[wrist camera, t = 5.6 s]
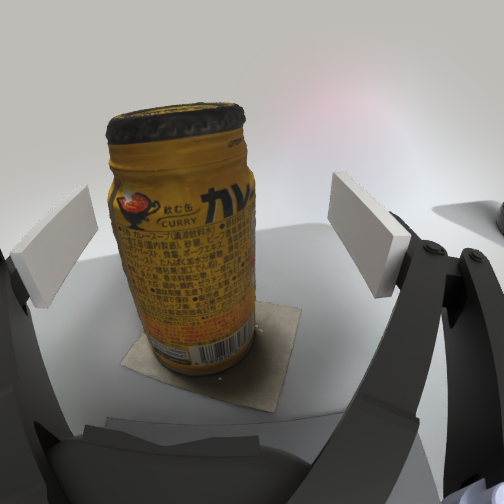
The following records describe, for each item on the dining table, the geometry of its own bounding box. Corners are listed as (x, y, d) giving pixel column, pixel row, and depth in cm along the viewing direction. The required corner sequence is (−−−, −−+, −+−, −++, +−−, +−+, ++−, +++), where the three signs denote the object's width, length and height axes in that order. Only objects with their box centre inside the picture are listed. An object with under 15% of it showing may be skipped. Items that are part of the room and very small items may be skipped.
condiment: (178, 286, 20) (152, 104, 13) (301, 311, 18) (322, 102, 11) (120, 366, 14) (38, 138, 7) (274, 415, 12) (303, 120, 5)
